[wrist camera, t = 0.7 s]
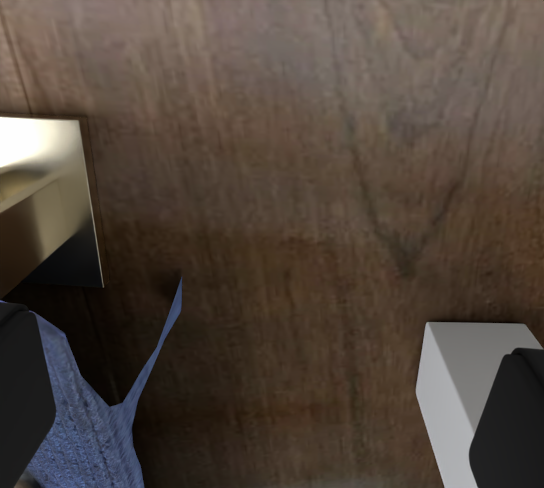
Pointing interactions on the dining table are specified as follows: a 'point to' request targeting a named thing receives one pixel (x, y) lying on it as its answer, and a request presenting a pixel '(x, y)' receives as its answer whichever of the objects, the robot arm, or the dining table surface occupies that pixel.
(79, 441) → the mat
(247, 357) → the dining table surface
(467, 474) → the milk carton
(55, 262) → the metal lever base
